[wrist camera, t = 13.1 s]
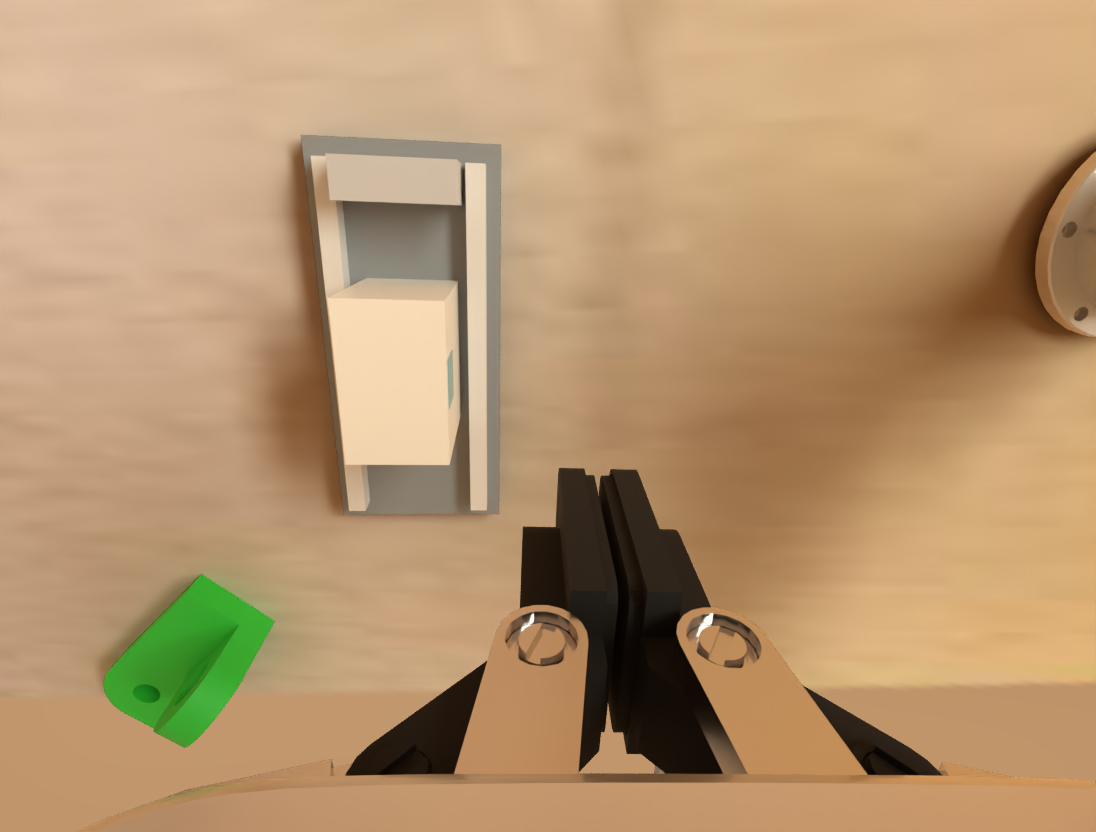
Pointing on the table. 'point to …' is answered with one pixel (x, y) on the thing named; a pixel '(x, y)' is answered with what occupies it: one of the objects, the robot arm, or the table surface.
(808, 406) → the table surface
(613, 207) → the table surface
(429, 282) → the block
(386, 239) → the rail plate
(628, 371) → the table surface
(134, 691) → the mechanical part
